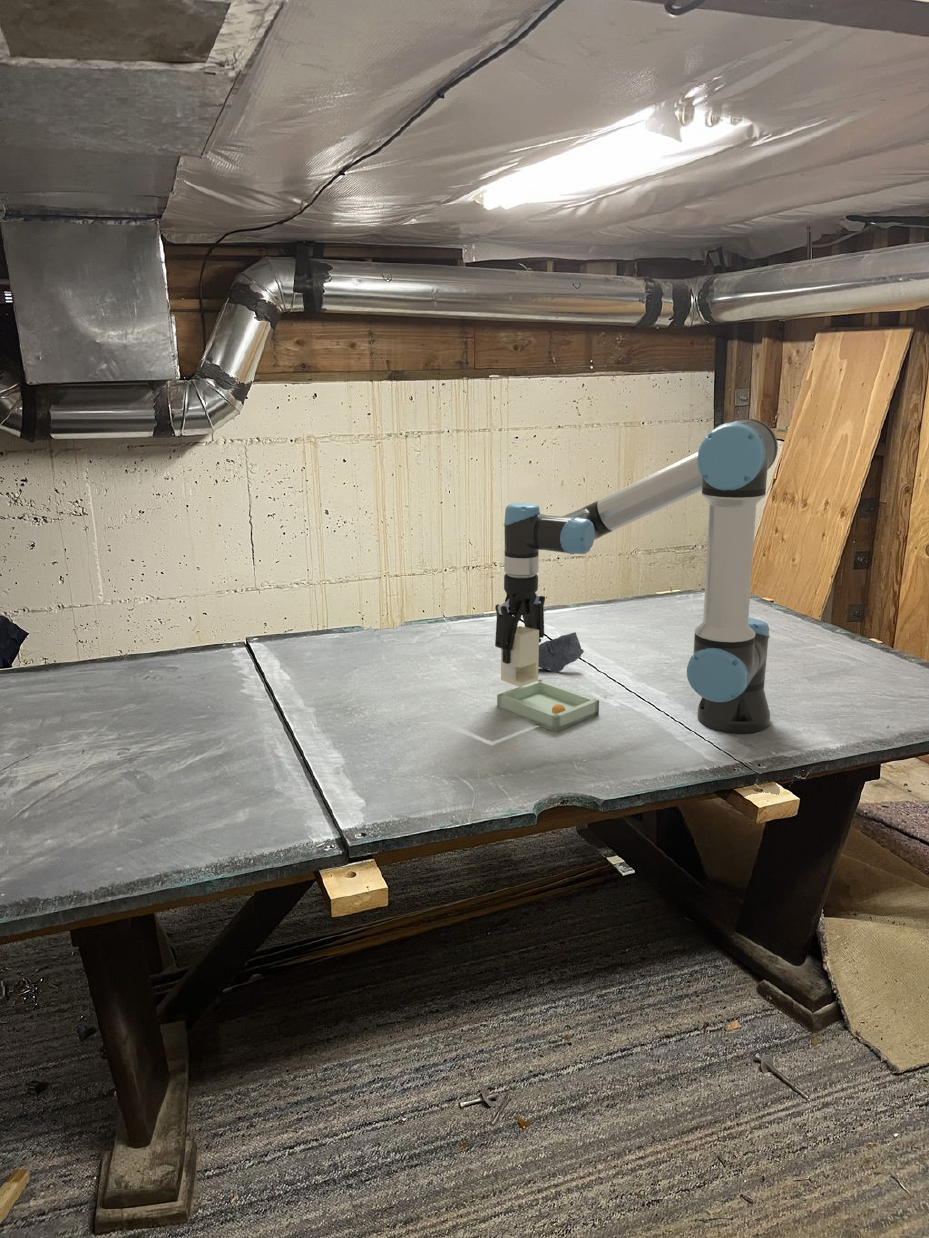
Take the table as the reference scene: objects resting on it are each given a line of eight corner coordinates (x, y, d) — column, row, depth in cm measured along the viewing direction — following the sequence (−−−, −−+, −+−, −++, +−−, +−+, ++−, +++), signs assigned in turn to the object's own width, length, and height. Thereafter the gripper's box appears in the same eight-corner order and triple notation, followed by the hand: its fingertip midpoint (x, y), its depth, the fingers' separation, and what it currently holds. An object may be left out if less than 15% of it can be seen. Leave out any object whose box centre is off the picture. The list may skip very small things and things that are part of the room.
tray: (598, 714, 199) (599, 700, 198) (556, 732, 191) (556, 717, 190) (539, 693, 212) (539, 679, 211) (497, 709, 203) (497, 694, 202)
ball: (557, 706, 198) (565, 717, 197) (547, 711, 196) (555, 722, 195) (562, 699, 196) (570, 710, 195) (551, 704, 194) (559, 715, 193)
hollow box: (538, 680, 204) (539, 630, 201) (519, 686, 200) (520, 635, 197) (519, 673, 209) (519, 624, 205) (500, 679, 205) (501, 629, 201)
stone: (535, 679, 222) (536, 640, 219) (524, 671, 227) (525, 633, 224) (584, 671, 227) (585, 633, 224) (573, 663, 232) (573, 627, 229)
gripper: (538, 563, 206) (536, 658, 213) (477, 577, 194) (477, 678, 201) (562, 569, 201) (560, 666, 207) (502, 584, 188) (501, 687, 195)
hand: (519, 672), depth 204 cm, fingers closed on hollow box, 6 cm apart
